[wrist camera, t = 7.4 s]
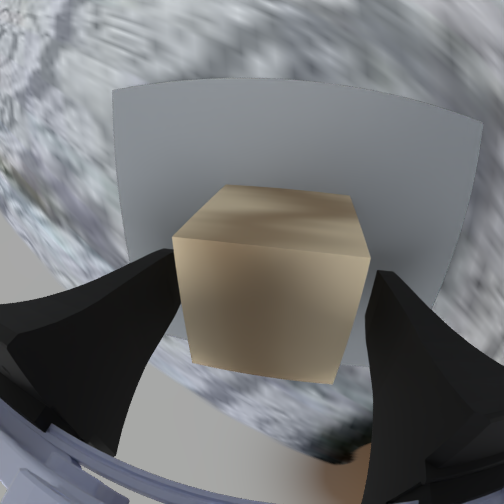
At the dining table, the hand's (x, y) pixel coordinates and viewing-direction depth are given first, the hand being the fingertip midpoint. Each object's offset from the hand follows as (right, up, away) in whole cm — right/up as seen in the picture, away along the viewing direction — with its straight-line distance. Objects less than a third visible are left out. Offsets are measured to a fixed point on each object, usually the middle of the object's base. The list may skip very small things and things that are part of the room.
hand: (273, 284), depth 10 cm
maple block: (+1, +1, +2) cm, 3 cm away
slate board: (+1, +2, +3) cm, 4 cm away
